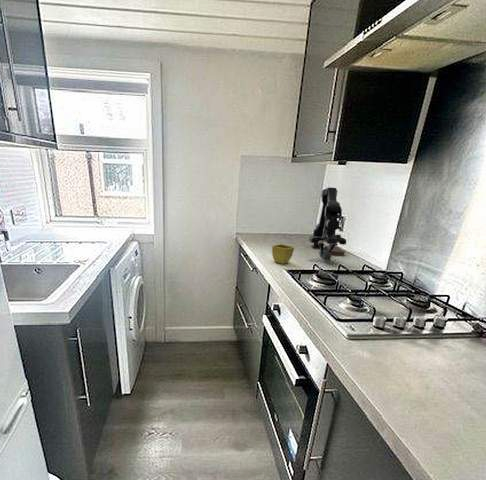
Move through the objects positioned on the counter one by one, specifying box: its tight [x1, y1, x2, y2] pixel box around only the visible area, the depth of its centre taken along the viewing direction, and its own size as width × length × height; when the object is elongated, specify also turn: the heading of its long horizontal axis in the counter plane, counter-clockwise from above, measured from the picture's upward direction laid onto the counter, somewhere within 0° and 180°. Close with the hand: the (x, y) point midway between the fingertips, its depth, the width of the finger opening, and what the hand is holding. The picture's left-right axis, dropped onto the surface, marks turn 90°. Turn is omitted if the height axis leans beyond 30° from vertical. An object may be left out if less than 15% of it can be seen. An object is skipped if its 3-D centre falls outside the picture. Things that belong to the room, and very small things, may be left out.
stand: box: [323, 245, 346, 257], centre depth 191 cm, size 14×8×2 cm, turn 177°
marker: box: [318, 249, 332, 261], centre depth 170 cm, size 11×3×3 cm, turn 177°
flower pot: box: [271, 243, 295, 265], centre depth 164 cm, size 9×9×9 cm
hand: (324, 255), depth 169 cm, fingers closed on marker, 3 cm apart
